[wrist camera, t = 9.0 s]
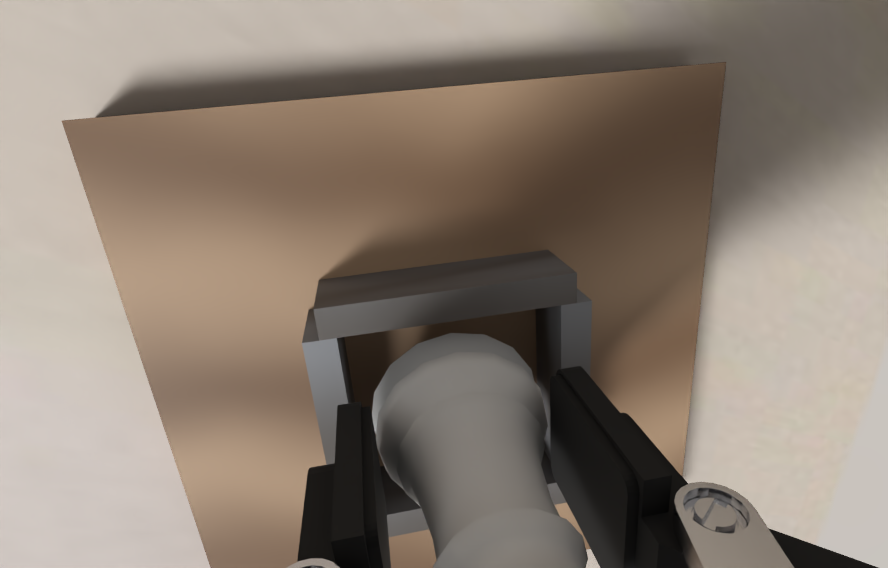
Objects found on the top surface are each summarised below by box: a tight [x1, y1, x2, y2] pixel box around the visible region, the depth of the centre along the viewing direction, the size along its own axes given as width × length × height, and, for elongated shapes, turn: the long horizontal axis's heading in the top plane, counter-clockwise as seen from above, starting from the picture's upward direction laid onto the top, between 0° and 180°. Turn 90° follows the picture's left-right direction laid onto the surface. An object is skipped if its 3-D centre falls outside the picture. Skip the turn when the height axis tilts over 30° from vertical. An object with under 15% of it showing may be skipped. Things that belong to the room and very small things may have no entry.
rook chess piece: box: [372, 333, 588, 568], centre depth 10 cm, size 4×4×8 cm
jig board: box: [62, 62, 726, 568], centre depth 15 cm, size 16×16×4 cm
